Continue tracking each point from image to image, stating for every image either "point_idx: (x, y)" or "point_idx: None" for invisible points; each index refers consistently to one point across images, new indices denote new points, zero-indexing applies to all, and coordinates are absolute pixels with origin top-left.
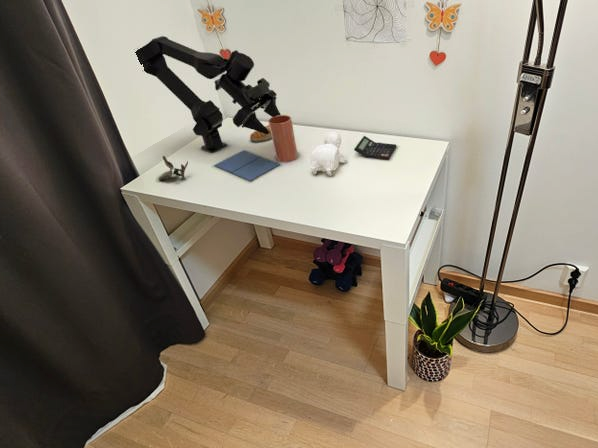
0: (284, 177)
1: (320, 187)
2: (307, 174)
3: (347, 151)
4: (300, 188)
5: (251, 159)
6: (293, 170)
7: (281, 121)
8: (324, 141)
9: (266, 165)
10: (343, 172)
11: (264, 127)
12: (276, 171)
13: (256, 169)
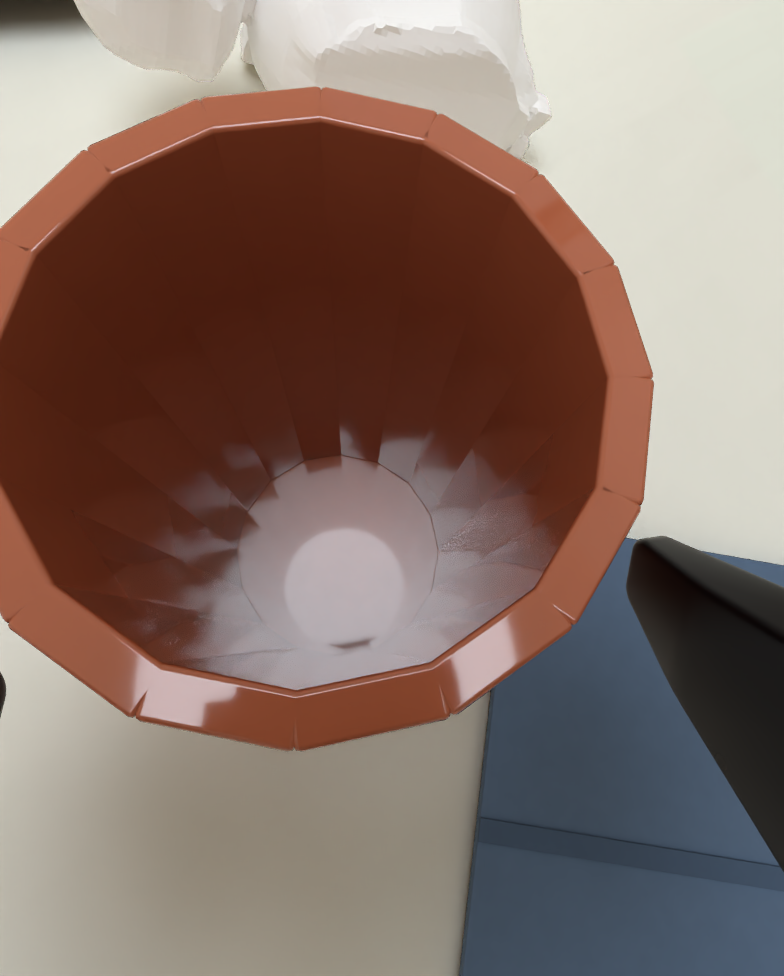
0: (657, 351)
1: (631, 60)
2: None
3: (61, 106)
4: (712, 165)
5: (576, 899)
6: None
7: (112, 562)
8: (224, 3)
9: (600, 621)
10: None
11: (771, 601)
12: None
13: None
